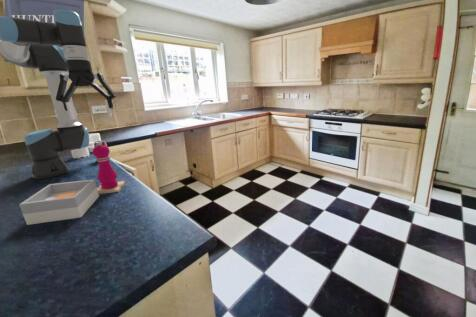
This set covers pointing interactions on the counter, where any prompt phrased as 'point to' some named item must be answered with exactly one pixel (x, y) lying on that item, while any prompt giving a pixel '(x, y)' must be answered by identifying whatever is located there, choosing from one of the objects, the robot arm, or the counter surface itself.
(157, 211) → the counter surface
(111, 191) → the cork mat
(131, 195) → the counter surface
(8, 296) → the counter surface
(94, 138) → the bracket
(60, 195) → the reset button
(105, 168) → the pepper mill
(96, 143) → the soda can
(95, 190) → the grey open box
